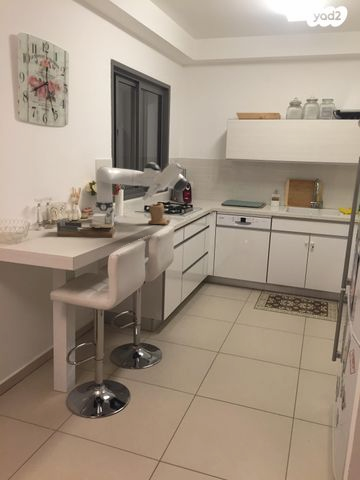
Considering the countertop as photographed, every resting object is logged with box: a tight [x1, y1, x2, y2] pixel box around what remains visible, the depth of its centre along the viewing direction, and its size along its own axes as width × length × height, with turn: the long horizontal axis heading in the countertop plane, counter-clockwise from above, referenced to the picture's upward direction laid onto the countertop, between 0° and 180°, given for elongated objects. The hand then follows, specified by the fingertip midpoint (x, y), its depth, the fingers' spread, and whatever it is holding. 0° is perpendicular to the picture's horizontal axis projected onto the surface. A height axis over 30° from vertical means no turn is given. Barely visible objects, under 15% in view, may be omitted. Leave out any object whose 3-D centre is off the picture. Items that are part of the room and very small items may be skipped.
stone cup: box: [147, 202, 171, 226], centre depth 291 cm, size 15×12×15 cm
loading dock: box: [56, 218, 116, 239], centre depth 247 cm, size 15×32×8 cm, turn 93°
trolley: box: [89, 208, 115, 230], centre depth 246 cm, size 10×13×12 cm
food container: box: [99, 213, 116, 228], centre depth 265 cm, size 12×6×10 cm, turn 141°
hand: (143, 199), depth 245 cm, fingers closed
